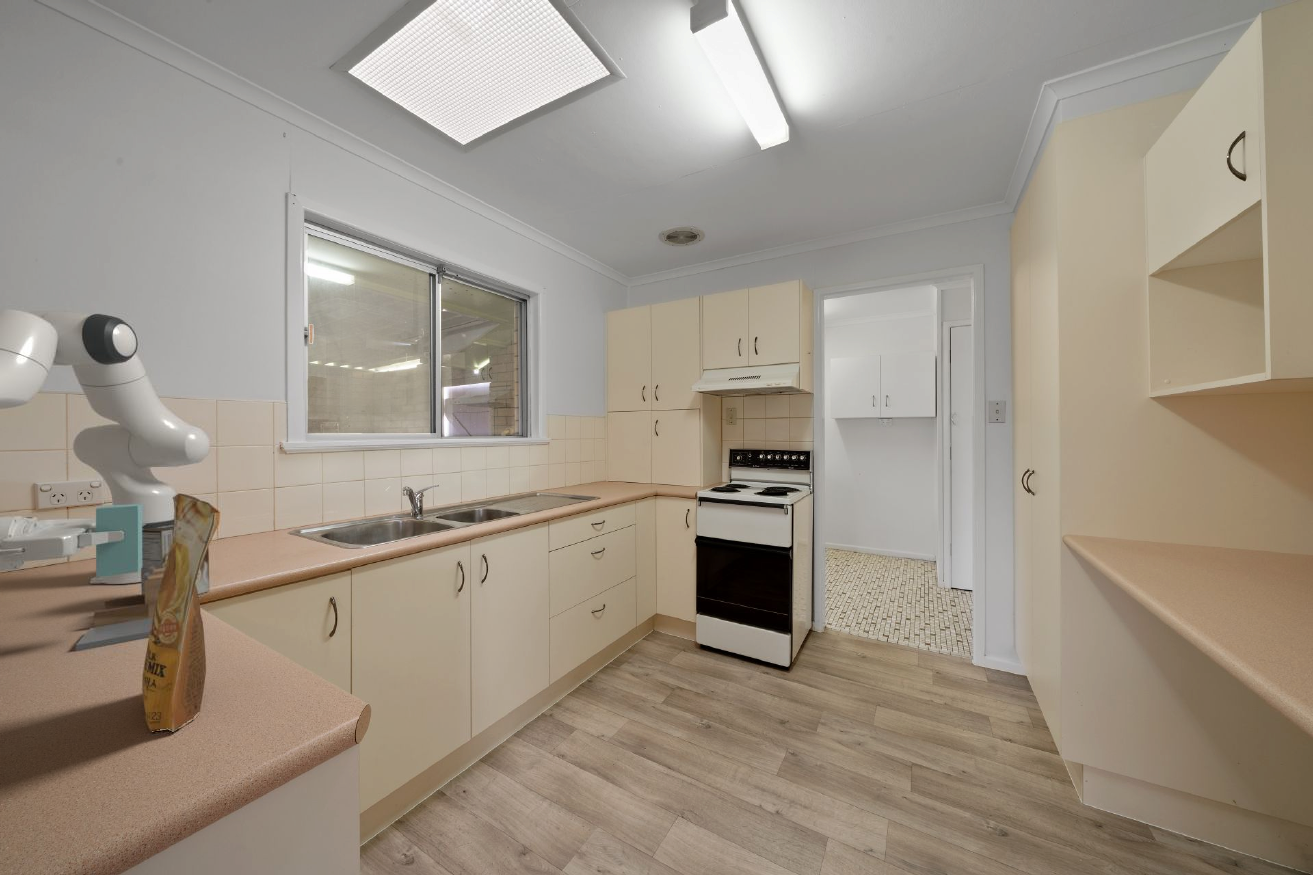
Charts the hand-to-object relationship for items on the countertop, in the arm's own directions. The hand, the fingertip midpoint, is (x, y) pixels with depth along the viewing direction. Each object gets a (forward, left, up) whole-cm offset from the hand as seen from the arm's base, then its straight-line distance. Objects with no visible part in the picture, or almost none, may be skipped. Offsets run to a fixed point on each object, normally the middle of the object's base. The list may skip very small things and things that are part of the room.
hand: (127, 532), depth 87 cm
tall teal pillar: (0, -1, -7) cm, 7 cm away
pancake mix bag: (+38, +10, -19) cm, 44 cm away
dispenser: (-12, 0, -18) cm, 22 cm away
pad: (0, -1, -18) cm, 19 cm away
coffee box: (-22, +4, -19) cm, 29 cm away
